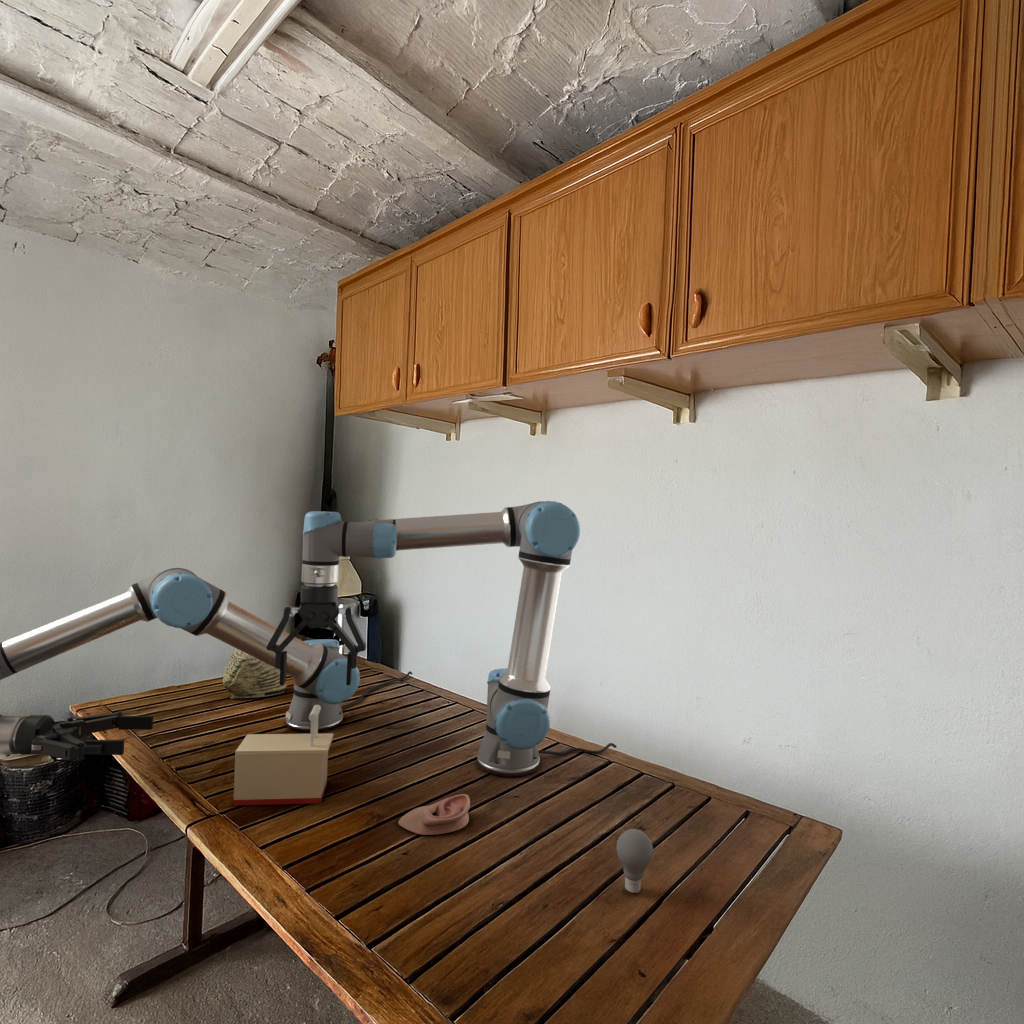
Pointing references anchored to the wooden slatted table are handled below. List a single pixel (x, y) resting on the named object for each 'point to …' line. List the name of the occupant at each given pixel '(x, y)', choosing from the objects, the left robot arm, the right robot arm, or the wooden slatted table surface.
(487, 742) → the right robot arm
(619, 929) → the wooden slatted table surface
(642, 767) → the wooden slatted table surface
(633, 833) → the light bulb
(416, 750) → the wooden slatted table surface
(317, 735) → the lid
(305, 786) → the chest
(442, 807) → the anatomical model
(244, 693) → the fossil
